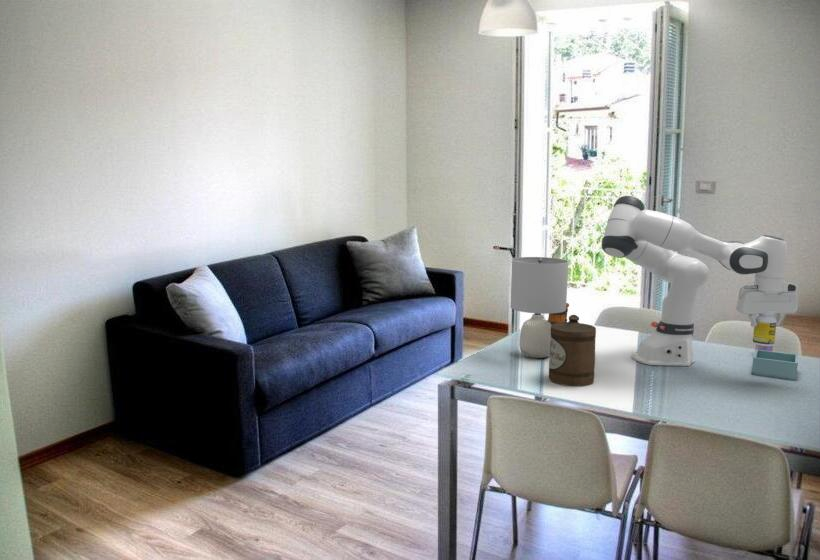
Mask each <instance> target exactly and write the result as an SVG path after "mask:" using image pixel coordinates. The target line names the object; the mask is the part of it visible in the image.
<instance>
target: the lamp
mask: <svg viewBox="0 0 820 560" xmlns="http://www.w3.org/2000/svg"><path fill="white" fill-rule="evenodd" d="M568 272H569V260H567V259H563V258H557V257H556V258H555V257H545V256H522V257H521V256H519V257H513V258H512V260H511V285H510V286H511V287H510V307H509V308H510V309H511V310H514V311H517V312H521V313H528V314H532V315H531V317H530V318H529V319H528V318H527V320H525V321H524V322H523V323H522V325H521V327H520V328H521V329H520V332H519V349H520V352H521V353H522V354H523V355H524V356H525V357H527V358H532V359H545V358H546V357H549V355H550V339H551V323H550V322H548V321H547V320H548V319H547V320H546V319H545V317H544V315H543V314H546V315H549V314H552V313H560V312H564V311H566V303H567V294H568V276H569V273H568Z"/></svg>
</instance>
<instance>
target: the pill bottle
mask: <svg viewBox="0 0 820 560" xmlns="http://www.w3.org/2000/svg"><path fill="white" fill-rule="evenodd" d="M774 315H775V313H774V311H766V313H765V314H758V315H756V317H755V320H756V321H757V322H758V327H753V334H752V335H753V336H752V343H753V344H755V345H756V344H757V345H761V346H772V345H773V346H774V345H775V341H776V340H775V339H776V331H777V330H776V328H777V327H776V322H777V321H776V317H774Z"/></svg>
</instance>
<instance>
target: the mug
mask: <svg viewBox="0 0 820 560" xmlns="http://www.w3.org/2000/svg"><path fill="white" fill-rule="evenodd" d="M569 306H570V304H569V303H568V302H566V311H564V312H560V313H552V314H548V317H547V321H548V322H550V323H551V325H552V324H555V323H564V322H568V318H567V317H568V311H569Z"/></svg>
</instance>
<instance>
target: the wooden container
mask: <svg viewBox="0 0 820 560" xmlns="http://www.w3.org/2000/svg"><path fill="white" fill-rule="evenodd" d="M568 320H569V321H567V322H564V323H555V324H552V325H551V339H550V355H549V356H548V359H549V360H548V380H549V381H551V382H552V383H555V384H557V385H558V384H559V385H562V386H570V387H584V386H588V385H592V384H593V383H594V381H595V370H596V369H595V368H596V366H595V365H596V338H597V337H596V335H597V328H596V327H595V326H594V325H591V324H588V323H587V324H586V323H582V322H581V323H580V322H579V320H580V318H579V316H578V315H576V314H570V315H569V316H568Z"/></svg>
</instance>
